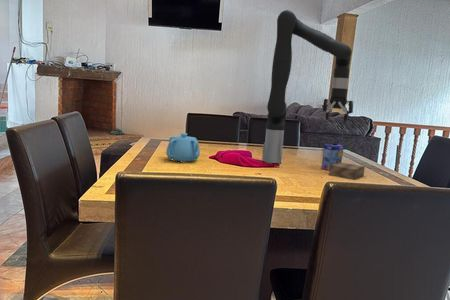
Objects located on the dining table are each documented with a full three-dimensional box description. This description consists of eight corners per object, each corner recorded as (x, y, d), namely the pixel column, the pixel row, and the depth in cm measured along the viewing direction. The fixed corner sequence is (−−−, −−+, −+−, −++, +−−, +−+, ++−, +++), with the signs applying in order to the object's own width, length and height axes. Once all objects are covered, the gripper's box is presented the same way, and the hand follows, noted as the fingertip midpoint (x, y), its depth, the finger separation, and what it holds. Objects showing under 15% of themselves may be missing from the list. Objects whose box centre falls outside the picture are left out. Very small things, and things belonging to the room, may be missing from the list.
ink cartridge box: (330, 170, 189) (333, 141, 187) (320, 168, 193) (323, 139, 191) (341, 169, 195) (344, 140, 193) (332, 167, 199) (335, 139, 197)
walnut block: (328, 175, 179) (329, 165, 178) (338, 172, 188) (339, 162, 187) (354, 180, 172) (355, 169, 171) (363, 177, 181) (364, 166, 180)
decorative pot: (198, 164, 184) (199, 136, 182) (164, 162, 183) (165, 134, 181) (199, 158, 200) (201, 132, 198) (168, 156, 199) (169, 130, 197)
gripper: (322, 86, 189) (319, 119, 192) (352, 88, 181) (348, 122, 183) (328, 87, 195) (325, 119, 198) (357, 88, 187) (353, 122, 190)
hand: (336, 121), depth 191 cm, fingers open, 8 cm apart
